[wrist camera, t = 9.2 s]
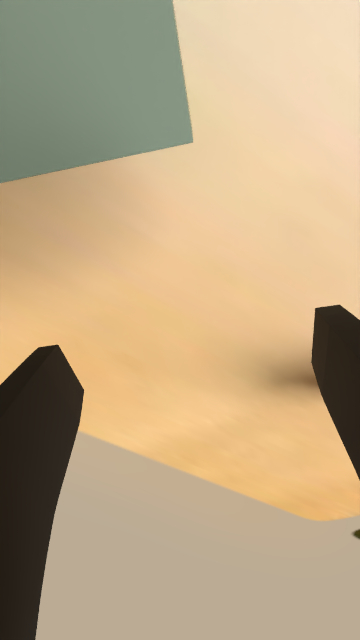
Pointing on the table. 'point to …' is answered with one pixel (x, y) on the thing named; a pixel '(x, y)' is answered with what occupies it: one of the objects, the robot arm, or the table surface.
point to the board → (88, 83)
